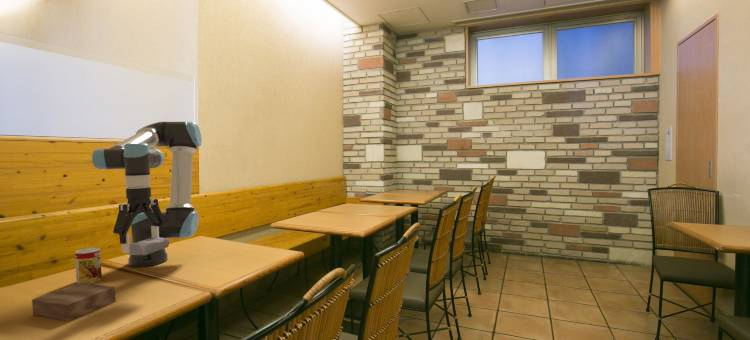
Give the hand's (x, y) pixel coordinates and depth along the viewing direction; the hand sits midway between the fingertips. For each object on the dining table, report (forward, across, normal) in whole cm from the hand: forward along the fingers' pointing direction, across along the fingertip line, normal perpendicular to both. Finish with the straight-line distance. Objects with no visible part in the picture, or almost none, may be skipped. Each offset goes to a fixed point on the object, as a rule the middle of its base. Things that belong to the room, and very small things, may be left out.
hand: (141, 247), depth 136 cm
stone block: (+1, 0, +2) cm, 2 cm away
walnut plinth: (+16, +17, -9) cm, 25 cm away
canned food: (+16, -3, -30) cm, 34 cm away
